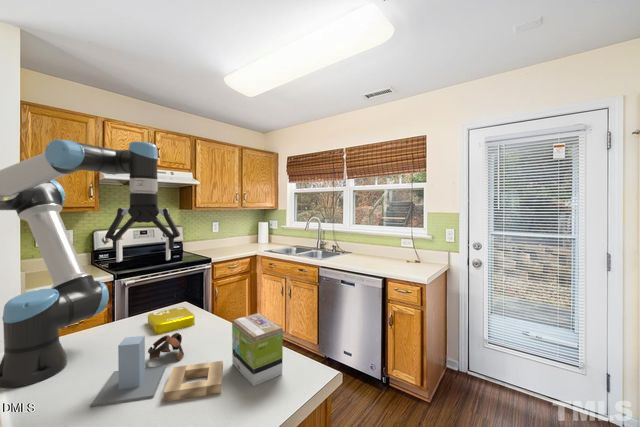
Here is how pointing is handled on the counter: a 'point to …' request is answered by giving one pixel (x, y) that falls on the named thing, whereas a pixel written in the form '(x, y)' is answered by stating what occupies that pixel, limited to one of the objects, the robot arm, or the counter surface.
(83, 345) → the counter surface
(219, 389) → the holder
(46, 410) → the counter surface
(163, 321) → the element tile
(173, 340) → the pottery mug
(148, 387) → the plate
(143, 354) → the part
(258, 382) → the tea box
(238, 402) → the counter surface
